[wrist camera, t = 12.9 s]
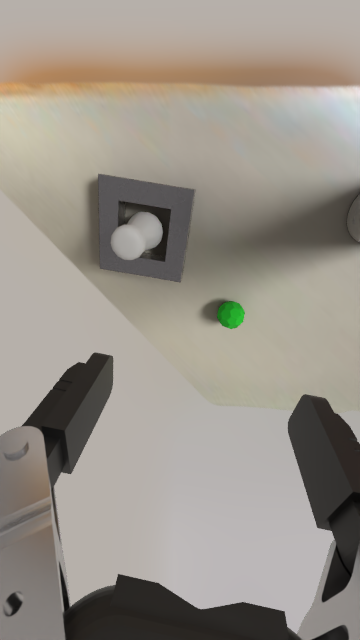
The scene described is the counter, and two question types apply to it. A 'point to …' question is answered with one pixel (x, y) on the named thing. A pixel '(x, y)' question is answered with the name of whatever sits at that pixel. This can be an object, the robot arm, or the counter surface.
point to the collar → (151, 194)
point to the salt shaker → (137, 236)
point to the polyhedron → (230, 314)
